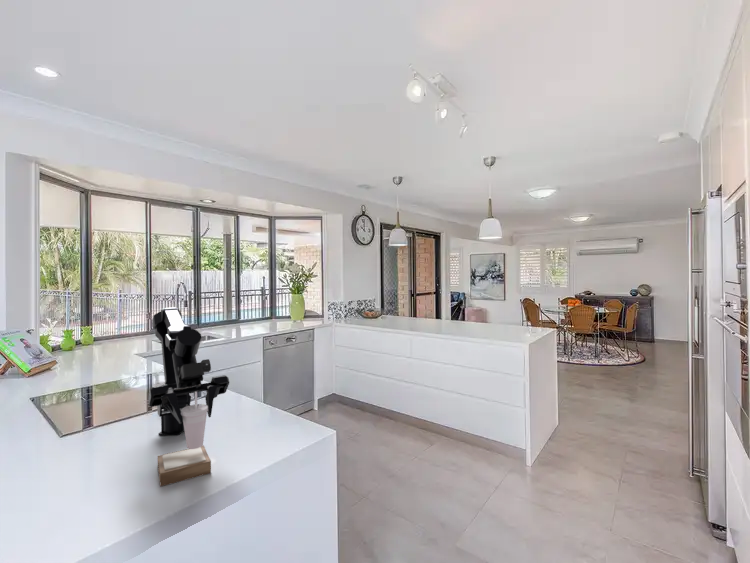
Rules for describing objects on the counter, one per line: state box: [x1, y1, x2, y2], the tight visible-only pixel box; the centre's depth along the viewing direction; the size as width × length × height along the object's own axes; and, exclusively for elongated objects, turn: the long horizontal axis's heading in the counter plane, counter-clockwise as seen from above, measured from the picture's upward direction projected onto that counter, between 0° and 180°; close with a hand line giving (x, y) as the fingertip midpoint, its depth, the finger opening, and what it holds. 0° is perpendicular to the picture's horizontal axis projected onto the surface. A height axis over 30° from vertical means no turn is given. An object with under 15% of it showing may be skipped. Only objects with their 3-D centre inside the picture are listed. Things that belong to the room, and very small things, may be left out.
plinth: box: [157, 444, 212, 487], centre depth 97 cm, size 11×11×3 cm
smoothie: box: [181, 391, 208, 449], centre depth 97 cm, size 6×6×14 cm
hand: (195, 419), depth 96 cm, fingers closed on smoothie, 6 cm apart
